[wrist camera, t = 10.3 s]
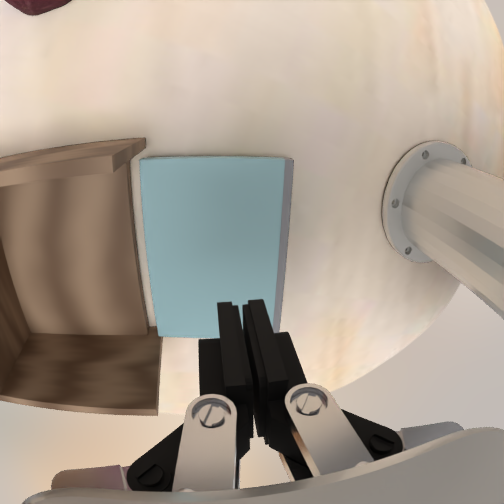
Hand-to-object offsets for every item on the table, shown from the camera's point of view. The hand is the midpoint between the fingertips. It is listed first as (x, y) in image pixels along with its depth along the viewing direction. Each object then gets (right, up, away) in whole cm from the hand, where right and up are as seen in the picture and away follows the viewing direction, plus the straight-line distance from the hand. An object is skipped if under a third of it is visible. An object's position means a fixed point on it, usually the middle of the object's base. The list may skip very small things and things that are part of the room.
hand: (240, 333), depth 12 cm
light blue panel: (-8, +3, +13) cm, 15 cm away
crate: (-15, +3, +13) cm, 20 cm away
